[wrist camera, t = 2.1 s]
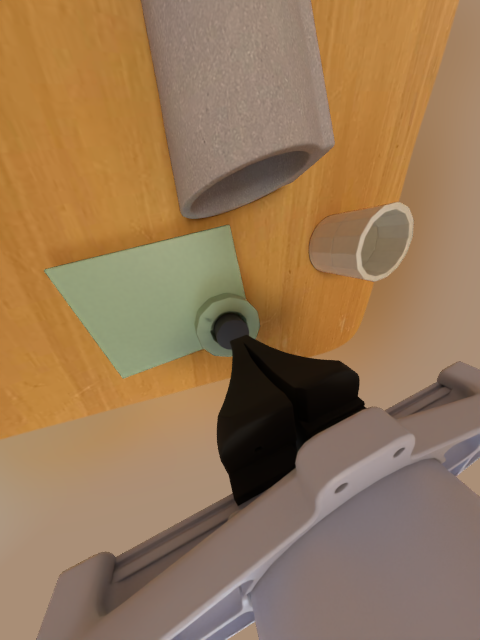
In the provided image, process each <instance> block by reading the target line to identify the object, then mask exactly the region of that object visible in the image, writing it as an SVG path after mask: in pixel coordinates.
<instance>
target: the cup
mask: <svg viewBox="0 0 480 640" xmlns="http://www.w3.org/2000/svg"><path fill="white" fill-rule="evenodd" d="M413 223H414V220H413V217H412V214H411V211H410V209H409V207H407V206H405V205H404V204H402V203H400V202H394V203H389V204H384V205H378V206H373V207H368V208H363V209H358V210H353V211H348V212H342V213H338V214H334V215H330V216H328V217H326V218H325V219H323V220H322V221H321V222H320V223H319V224H318V226H317V227H316V228H315V230H314V232H313V234H312V237H311V240H310V244H309V256H310V260H311V262H312V264H313V266H314V267H315V268H316V269H317V270H319V271H322V272H327V273H331V274H336V275H341V276H347V277H352V278H357V279H362V280H367V281H373V282H375V281H378V280H380V279H383V278H386V277H387V276H388V275H389V274H390V273H392V272H393V271H394V270H395V269H396V268H397V267H398V266H399V264H400V263H401V261H402V260H403V258H404V257H405V255H406V253H407V251H408V248H409V246H410V243H411V240H412V236H413V225H414V224H413Z"/></svg>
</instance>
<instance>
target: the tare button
mask: <svg viewBox="0 0 480 640" xmlns="http://www.w3.org/2000/svg"><path fill="white" fill-rule="evenodd" d="M214 334H215V336H216V339H217V341H218V343H219V345H220V346H221V347H223V348H225V349H228V350H232V349H231V345H230V341H231V340H234V339H236V338H239V337H242V336H244V335H248V336H249V328H248V326H247V324H246V323H245V322H244V321H243V320H242V318H241V317H240V316H238V315H236V314H233V313H228V314H224V315H222V316H221V317H219V318H218V319H217V321H216V322H215V325H214Z"/></svg>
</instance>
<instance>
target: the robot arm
mask: <svg viewBox="0 0 480 640" xmlns="http://www.w3.org/2000/svg"><path fill="white" fill-rule="evenodd" d="M230 345H231V349H232V357H233V360H232V373H231V379H230V384H229V388H228V391H227V394H226V397H225V401H224V403H223V406H222V408H221V410H220V412H219V415H218V422H217V445H218V450H219V455H220V459H221V462H222V463H223V465H224V467H225V469H226V471H227V473H228V474H229V478H230V483H231V487H232V492H233V493H232V494H231V495H229V496H227V497H225V498H223V499H222V500H220V501H218V502H216V503H214V504H212V505H210V506H209V507H207V508H205V509H203V510H201V511H199V512H198V513H196V514H194V515H192V516H190V517H189V518H187V519H185V520H183V521H181V522H179V523H177V524H176V525H174V526H172V527H170V528H168V529H167V530H165V531H163V532H161V533H159V534H157V535H156V536H154V537H152V538H150V539H148V540H146V541H145V542H143V543H141V544H139V545H137V546H135V547H133V548H132V549H130V550H128V551H126V552H124V553H122V554H121V555H119V556H117V557H115V556H114V555H113V554H112V553H110V552H101V553H98V554H96V555H93V556H92V557H89V558H88V559H86V560H84V561H82V562H80V563H78V564H76V565H75V566H73V567H71V568H69V569H67V570H65V571H63V572H62V574H60V575H59V578H58V580H57V583H56V586H55V589H54V592H53V594H52V597H51V600H50V603H49V605H48V608H47V611H46V614H45V617H44V619H43V622H42V625H41V628H40V630H39V633H38V636H37V639H36V640H227V639H228V638H230V637H231V636H233V635H235V634H236V633H238V632H239V631H241V630H243V629H244V628H246V627H247V626H249V625H250V624H252V623H254V622H256V627H257V632H258V637H259V640H480V497H479V496H478V495H477V494H476V493H475V492H473V491H472V490H471V489H470V488H469V487H467V486H466V485H465V484H464V483H463V482H461V481H460V480H459V479H458V478H457V477H456V476H457V475H458V474H460V473H461V472H462V471H463V470H465V469H466V468H467V467H469V466H470V465H471V464H472V463H474V462H475V461H476V460H477V459H479V458H480V369H477V368H475V367H472V366H470V365H468V364H465V363H463V362H461V361H459V362H456V363H454V364H452V365H450V366H448V367H447V368H445V369H444V370H442V371H441V372H440V374H439V376H438V378H437V382H436V383H434V384H432V385H430V386H429V387H427V388H425V389H423V390H421V391H419V392H418V393H416V394H414V395H412V396H410V397H408V398H407V399H405V400H403V401H401V402H399V403H397V404H396V405H394V406H392V407H390V408H388V409H386V410H385V411H384V410H383V409H381V408H378V407H370V408H365V407H364V405H365V404H364V401H362V400H361V399H360V398H359V397H358V390H359V376H358V374H357V373H356V372H355V371H353V370H351V368H349V367H348V366H347V365H345V364H343V363H342V362H340V361H335V360H320V359H313V358H306V357H301V356H297V355H292V354H289V353H285V352H282V351H279V350H277V349H274V348H272V347H269V346H267V345H265V344H263V343H261V342H259V341H257V340H255V339H254V338H252V337H250V336H248V335H244V336H242V337H239V338H236V339H234V340H231V341H230Z"/></svg>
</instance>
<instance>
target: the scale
mask: <svg viewBox="0 0 480 640" xmlns="http://www.w3.org/2000/svg"><path fill="white" fill-rule="evenodd" d="M44 272H45V273H46V274H47V276H48V277H49V278H50V280H51V281H52V283H53V284H54V285H55V287H56V288H57V289H58V291H59V292H60V293H61V295H62V296H63V298H64V299H65V300H66V302H67V303H68V304H69V306H70V307H71V309H72V310H73V311H74V313H75V314H76V315H77V317H78V318H79V319H80V321H81V322H82V324H83V325H84V326H85V328H86V329H87V330H88V332H89V333H90V334H91V336H92V337H93V339H94V340H95V341H96V343H97V344H98V345H99V347H100V348H101V349H102V351H103V352H104V354H105V355H106V356H107V358H108V359H109V360H110V362H111V363H112V365H113V366H114V367H115V369H116V370H117V371H118V373H119V374H120V375H121V377H122V378H126V377H129V376H131V375H134V374H137V373H140V372H142V371H145V370H148V369H150V368H153V367H156V366H158V365H161V364H164V363H166V362H169V361H172V360H175V359H177V358H180V357H183V356H185V355H188V354H191V353H193V352H196V351H199V350H202V349H205V350H207V351H208V352H210V353H211V354H212V355H214V356H225V357H231V356H232V350H228V349H225V348H223V347H221V346H220V345H219V343H218V341H217V339H216V336H215V334H214V325H215V322H216V321H217V319H218V318H219V317H221V316H222V315H224V314H228V313H233V314H236V315H238V316H240V317H241V318H242V320H243V321H244V322H245V323H246V324H247V326H248V328H249V336H250V337H252V338H254V339H256V336H257V334H258V331H259V328H260V322H259V317H258V312H257V310H256V309H255V308H254V307H253V306H252V305H251V304H250V303H249V302H248V301H247V300H246V297H245V293H244V288H243V283H242V279H241V274H240V270H239V265H238V261H237V256H236V251H235V247H234V242H233V238H232V233H231V229H230V225H225V226H221V227H217V228H212V229H208V230H204V231H200V232H196V233H192V234H188V235H184V236H180V237H175V238H171V239H167V240H163V241H159V242H155V243H151V244H147V245H142V246H138V247H134V248H130V249H126V250H122V251H118V252H114V253H110V254H105V255H101V256H97V257H93V258H89V259H85V260H81V261H77V262H72V263H68V264H64V265H60V266H56V267H52V268H48V269H45V270H44Z"/></svg>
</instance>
